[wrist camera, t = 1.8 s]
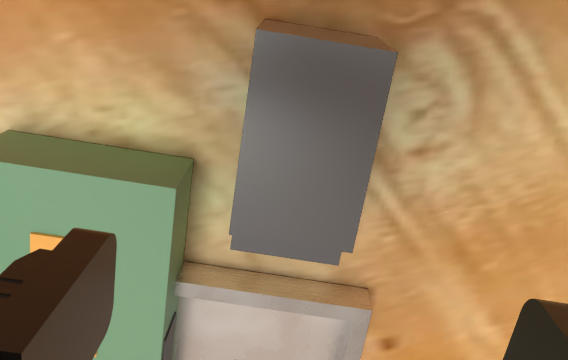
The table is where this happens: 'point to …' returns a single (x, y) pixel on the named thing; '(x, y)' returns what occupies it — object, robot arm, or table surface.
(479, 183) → the table surface
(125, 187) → the green rectangular block
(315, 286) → the grey metal tray
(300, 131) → the grey box
